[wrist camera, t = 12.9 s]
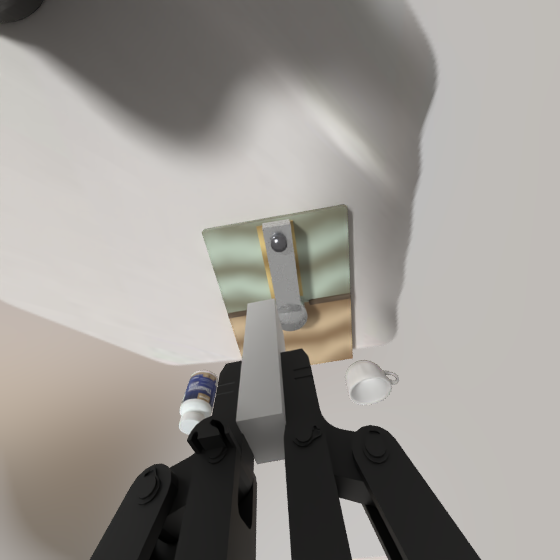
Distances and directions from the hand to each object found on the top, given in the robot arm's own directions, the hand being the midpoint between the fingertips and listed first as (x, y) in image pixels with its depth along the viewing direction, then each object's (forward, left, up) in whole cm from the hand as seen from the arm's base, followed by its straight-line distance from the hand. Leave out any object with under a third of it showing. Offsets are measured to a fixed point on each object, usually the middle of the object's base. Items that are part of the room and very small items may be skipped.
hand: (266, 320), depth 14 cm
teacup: (+33, +14, -24) cm, 43 cm away
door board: (+14, +1, -23) cm, 27 cm away
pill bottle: (+29, -18, -24) cm, 41 cm away
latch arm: (+8, +1, -21) cm, 22 cm away
